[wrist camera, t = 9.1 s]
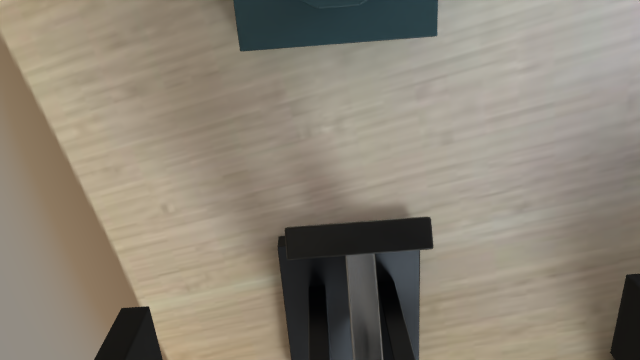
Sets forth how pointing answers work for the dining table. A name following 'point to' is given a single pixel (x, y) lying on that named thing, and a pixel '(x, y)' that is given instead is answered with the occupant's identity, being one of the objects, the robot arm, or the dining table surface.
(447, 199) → the dining table surface
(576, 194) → the dining table surface
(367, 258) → the press lever
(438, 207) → the dining table surface
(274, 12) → the button block
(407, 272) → the lever bracket
